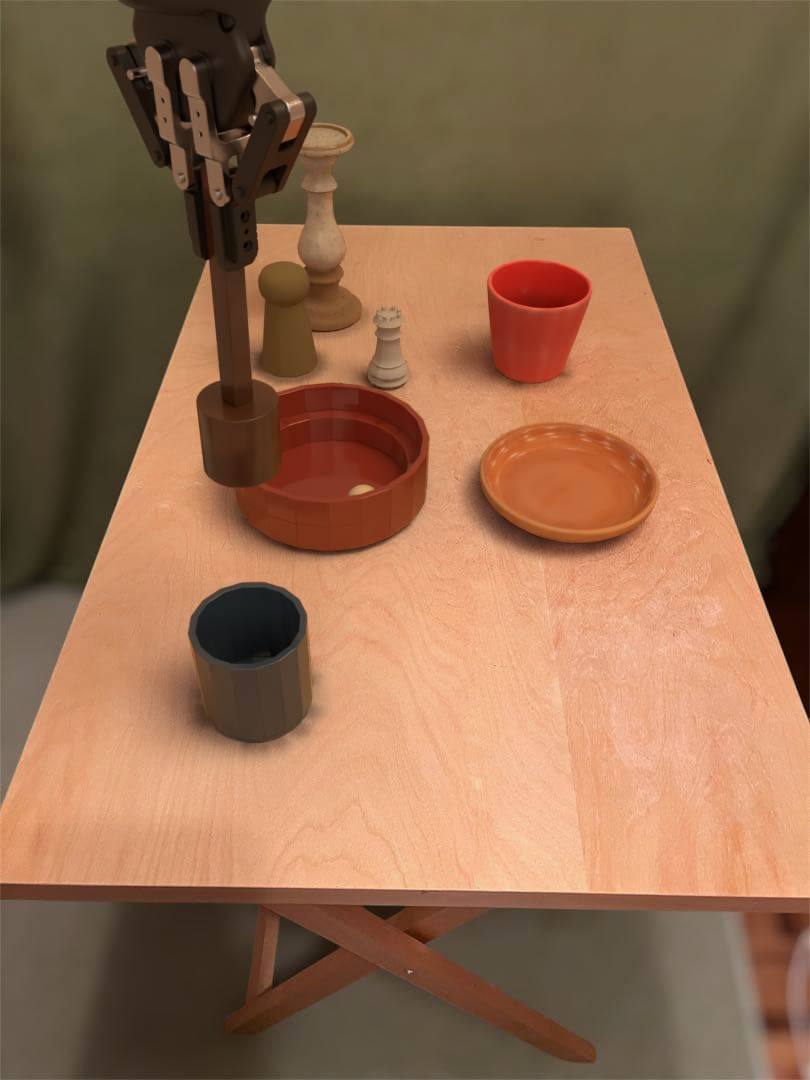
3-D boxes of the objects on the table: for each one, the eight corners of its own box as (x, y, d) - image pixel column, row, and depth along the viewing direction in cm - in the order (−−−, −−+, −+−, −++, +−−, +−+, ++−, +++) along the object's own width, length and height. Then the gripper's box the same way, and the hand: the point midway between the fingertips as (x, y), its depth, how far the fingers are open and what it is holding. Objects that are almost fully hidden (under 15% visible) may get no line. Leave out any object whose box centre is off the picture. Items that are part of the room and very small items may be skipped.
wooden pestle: (238, 498, 57) (212, 191, 44) (187, 464, 59) (148, 163, 46) (297, 464, 59) (288, 167, 47) (246, 433, 62) (224, 142, 49)
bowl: (329, 585, 75) (327, 531, 70) (198, 491, 83) (188, 438, 79) (464, 489, 84) (469, 436, 80) (334, 413, 92) (332, 362, 88)
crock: (252, 762, 62) (240, 689, 57) (181, 699, 66) (164, 625, 60) (334, 695, 66) (331, 622, 61) (264, 639, 70) (254, 565, 65)
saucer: (518, 427, 91) (521, 402, 89) (674, 477, 86) (681, 451, 84) (447, 519, 81) (449, 493, 79) (620, 583, 76) (626, 557, 73)
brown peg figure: (283, 341, 102) (276, 248, 95) (328, 357, 100) (324, 263, 93) (250, 366, 98) (239, 271, 91) (296, 383, 96) (289, 287, 89)
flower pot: (597, 379, 98) (613, 297, 91) (506, 400, 95) (516, 315, 88) (549, 332, 105) (561, 252, 98) (463, 349, 102) (469, 268, 95)
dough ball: (336, 506, 78) (348, 475, 79) (347, 520, 81) (359, 489, 81) (367, 514, 77) (379, 483, 78) (377, 527, 80) (389, 497, 80)
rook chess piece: (394, 395, 95) (395, 327, 89) (359, 382, 97) (357, 314, 91) (416, 375, 98) (419, 308, 92) (381, 363, 99) (381, 296, 94)
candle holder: (271, 316, 106) (255, 136, 93) (319, 288, 112) (311, 113, 98) (329, 340, 103) (322, 156, 89) (376, 310, 108) (377, 132, 94)
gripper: (12, -143, 39) (94, 242, 51) (218, -100, 33) (257, 329, 45) (154, -154, 43) (200, 204, 55) (362, -118, 37) (363, 278, 49)
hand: (225, 259), depth 50 cm, fingers closed on wooden pestle, 1 cm apart
